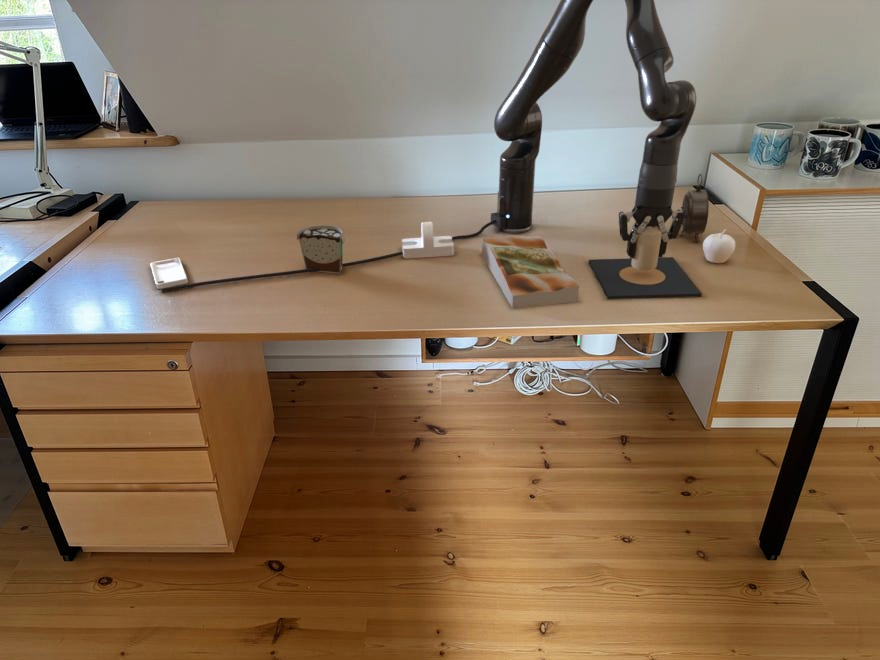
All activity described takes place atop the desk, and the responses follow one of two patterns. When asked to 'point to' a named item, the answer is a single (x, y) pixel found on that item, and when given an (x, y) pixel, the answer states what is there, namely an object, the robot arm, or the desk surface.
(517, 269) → the topographic model
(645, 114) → the robot arm
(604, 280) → the mat
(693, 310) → the desk surface
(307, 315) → the desk surface
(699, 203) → the alarm clock
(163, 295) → the desk surface
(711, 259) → the plain white apple
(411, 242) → the slotted bracket
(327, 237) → the food container
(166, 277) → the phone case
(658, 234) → the candle
